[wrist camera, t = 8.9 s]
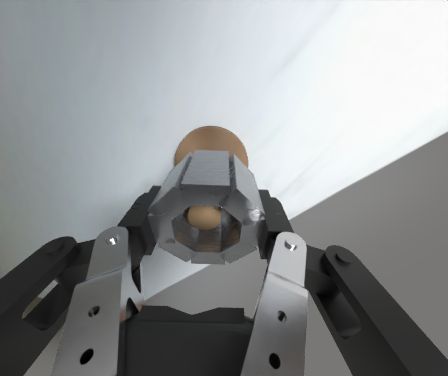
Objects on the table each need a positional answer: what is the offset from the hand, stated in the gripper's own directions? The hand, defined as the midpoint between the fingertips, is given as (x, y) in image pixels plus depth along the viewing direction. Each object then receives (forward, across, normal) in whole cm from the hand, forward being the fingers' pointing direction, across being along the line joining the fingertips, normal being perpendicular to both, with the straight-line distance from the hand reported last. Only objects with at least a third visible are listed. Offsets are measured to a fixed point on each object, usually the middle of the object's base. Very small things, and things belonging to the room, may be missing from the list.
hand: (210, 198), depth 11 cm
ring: (+1, 0, 0) cm, 1 cm away
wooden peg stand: (+6, 0, 0) cm, 6 cm away
